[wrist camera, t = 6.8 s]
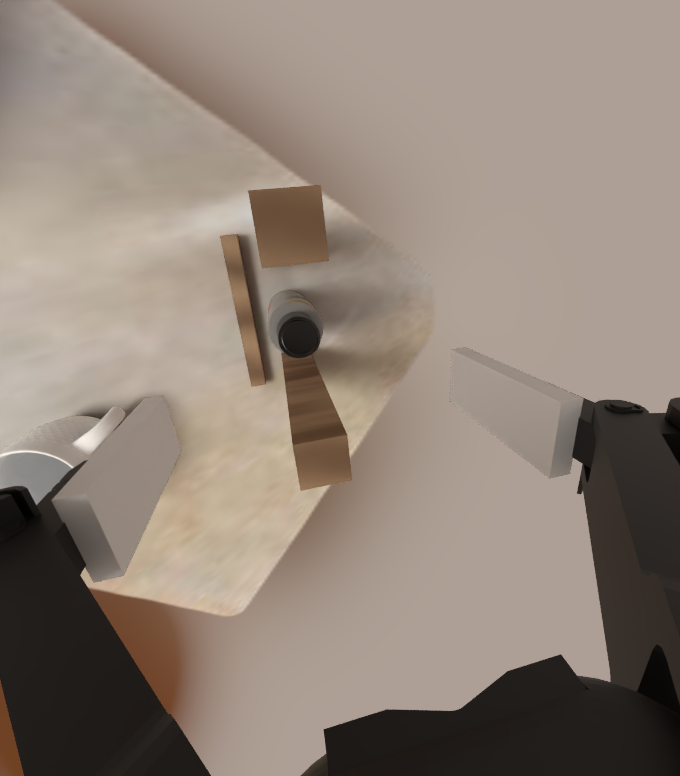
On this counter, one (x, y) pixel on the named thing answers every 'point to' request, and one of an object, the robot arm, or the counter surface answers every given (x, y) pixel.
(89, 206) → the counter surface
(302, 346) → the lotion bottle
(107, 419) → the mug
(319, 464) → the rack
